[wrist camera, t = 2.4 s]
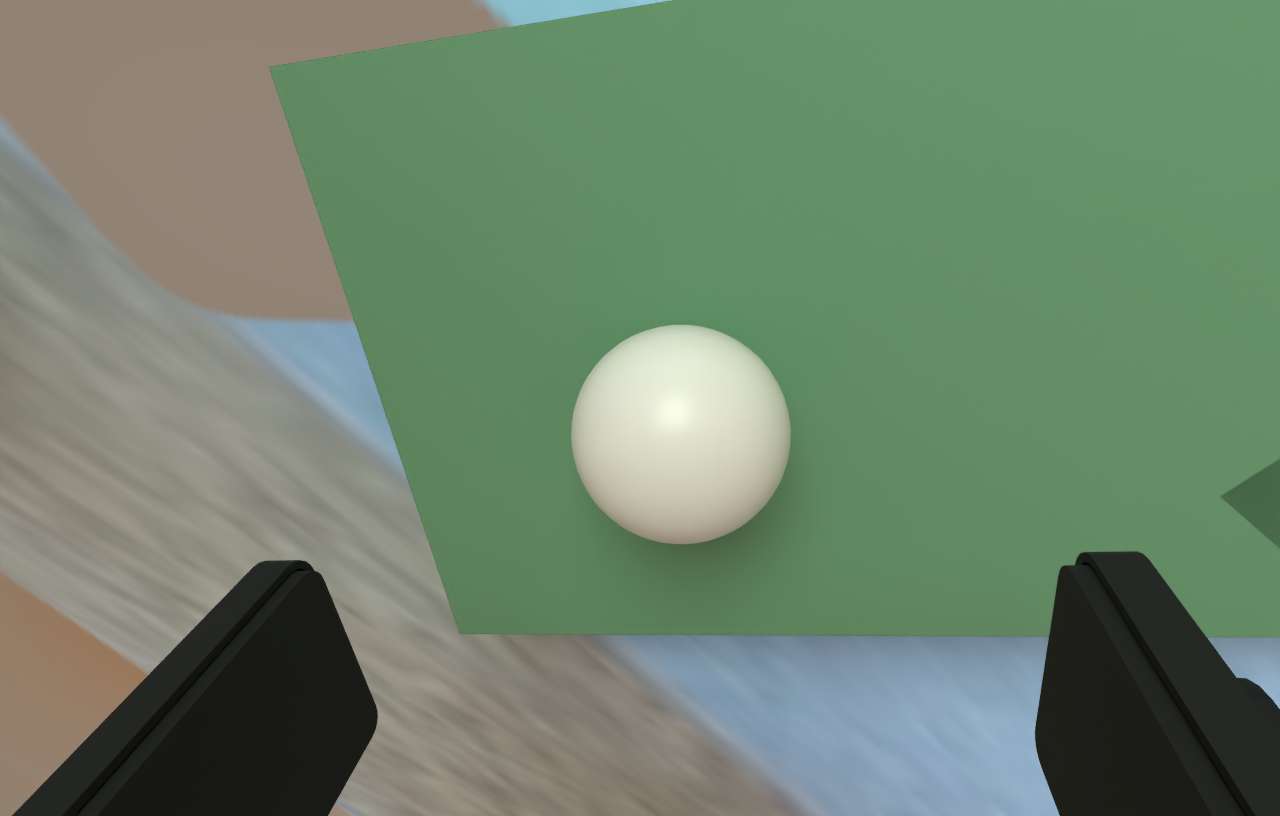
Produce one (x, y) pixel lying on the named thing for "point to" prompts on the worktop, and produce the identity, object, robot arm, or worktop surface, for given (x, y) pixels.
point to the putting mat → (830, 298)
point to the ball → (681, 434)
